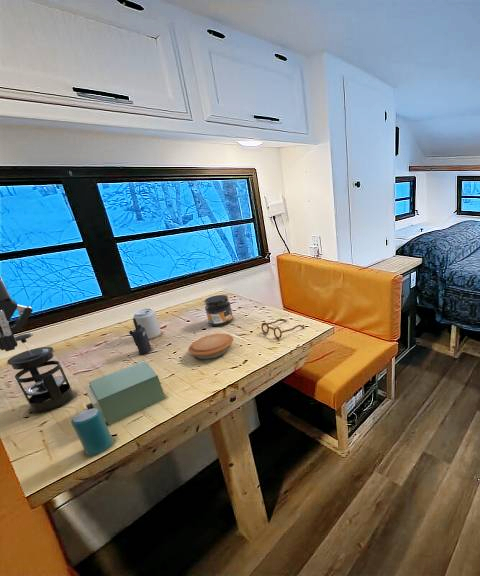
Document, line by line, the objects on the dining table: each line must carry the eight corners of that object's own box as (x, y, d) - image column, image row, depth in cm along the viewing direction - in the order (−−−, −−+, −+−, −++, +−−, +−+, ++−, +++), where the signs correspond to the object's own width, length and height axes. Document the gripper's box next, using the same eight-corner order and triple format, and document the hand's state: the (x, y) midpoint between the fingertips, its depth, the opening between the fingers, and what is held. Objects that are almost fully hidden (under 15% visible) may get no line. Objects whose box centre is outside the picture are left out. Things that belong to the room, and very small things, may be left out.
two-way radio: (148, 354, 118) (136, 319, 113) (134, 356, 116) (122, 321, 111) (152, 347, 123) (141, 313, 118) (139, 349, 121) (127, 315, 116)
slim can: (88, 459, 74) (72, 426, 70) (84, 448, 77) (68, 416, 73) (115, 445, 77) (101, 413, 74) (110, 435, 80) (97, 404, 77)
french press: (25, 407, 91) (-11, 339, 83) (66, 388, 99) (36, 325, 91) (41, 419, 87) (5, 349, 79) (83, 398, 94) (54, 333, 86)
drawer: (95, 427, 82) (86, 407, 80) (87, 408, 89) (78, 389, 87) (155, 399, 92) (148, 380, 90) (143, 384, 99) (137, 367, 96)
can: (163, 335, 132) (156, 310, 128) (142, 342, 127) (133, 316, 123) (159, 330, 137) (151, 305, 132) (139, 336, 132) (130, 311, 127)
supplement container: (217, 329, 136) (211, 304, 132) (204, 324, 142) (198, 300, 138) (238, 320, 145) (233, 296, 141) (225, 315, 150) (220, 292, 146)
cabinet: (108, 425, 84) (97, 400, 81) (98, 405, 91) (88, 381, 88) (165, 398, 94) (157, 375, 91) (152, 382, 101) (144, 360, 98)
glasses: (261, 332, 132) (259, 322, 131) (285, 321, 143) (284, 311, 141) (280, 340, 125) (279, 329, 124) (305, 328, 136) (303, 318, 134)
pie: (234, 338, 128) (232, 327, 127) (235, 356, 115) (232, 344, 113) (192, 347, 122) (189, 336, 121) (188, 367, 109) (184, 355, 107)
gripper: (19, 272, 76) (47, 334, 82) (-73, 287, 66) (-33, 356, 72) (21, 278, 71) (50, 343, 77) (-77, 295, 62) (-35, 367, 67)
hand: (10, 349), depth 74 cm, fingers closed
